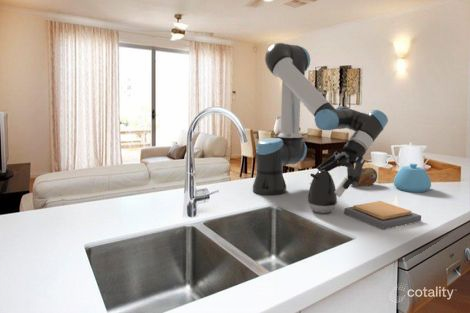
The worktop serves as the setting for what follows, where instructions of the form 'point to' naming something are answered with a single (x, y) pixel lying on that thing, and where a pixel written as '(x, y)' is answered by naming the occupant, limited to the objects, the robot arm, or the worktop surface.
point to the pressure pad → (382, 210)
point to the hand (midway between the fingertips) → (323, 190)
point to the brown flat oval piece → (366, 177)
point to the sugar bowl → (412, 179)
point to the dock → (379, 222)
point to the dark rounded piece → (322, 192)
